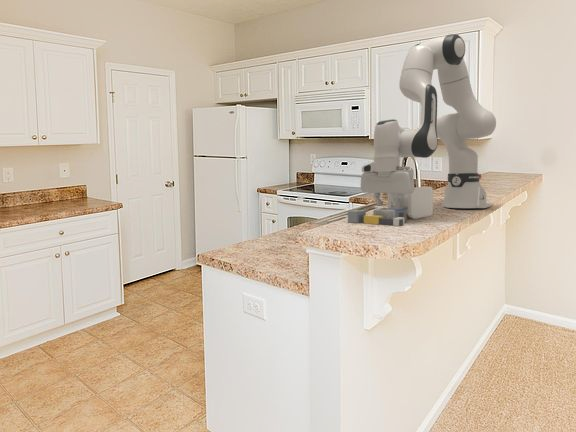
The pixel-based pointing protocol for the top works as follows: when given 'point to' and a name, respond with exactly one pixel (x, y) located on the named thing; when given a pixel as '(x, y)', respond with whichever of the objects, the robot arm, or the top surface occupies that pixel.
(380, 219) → the yellow and black bar
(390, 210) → the medicine box
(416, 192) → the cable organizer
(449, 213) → the top surface
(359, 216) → the grey block
